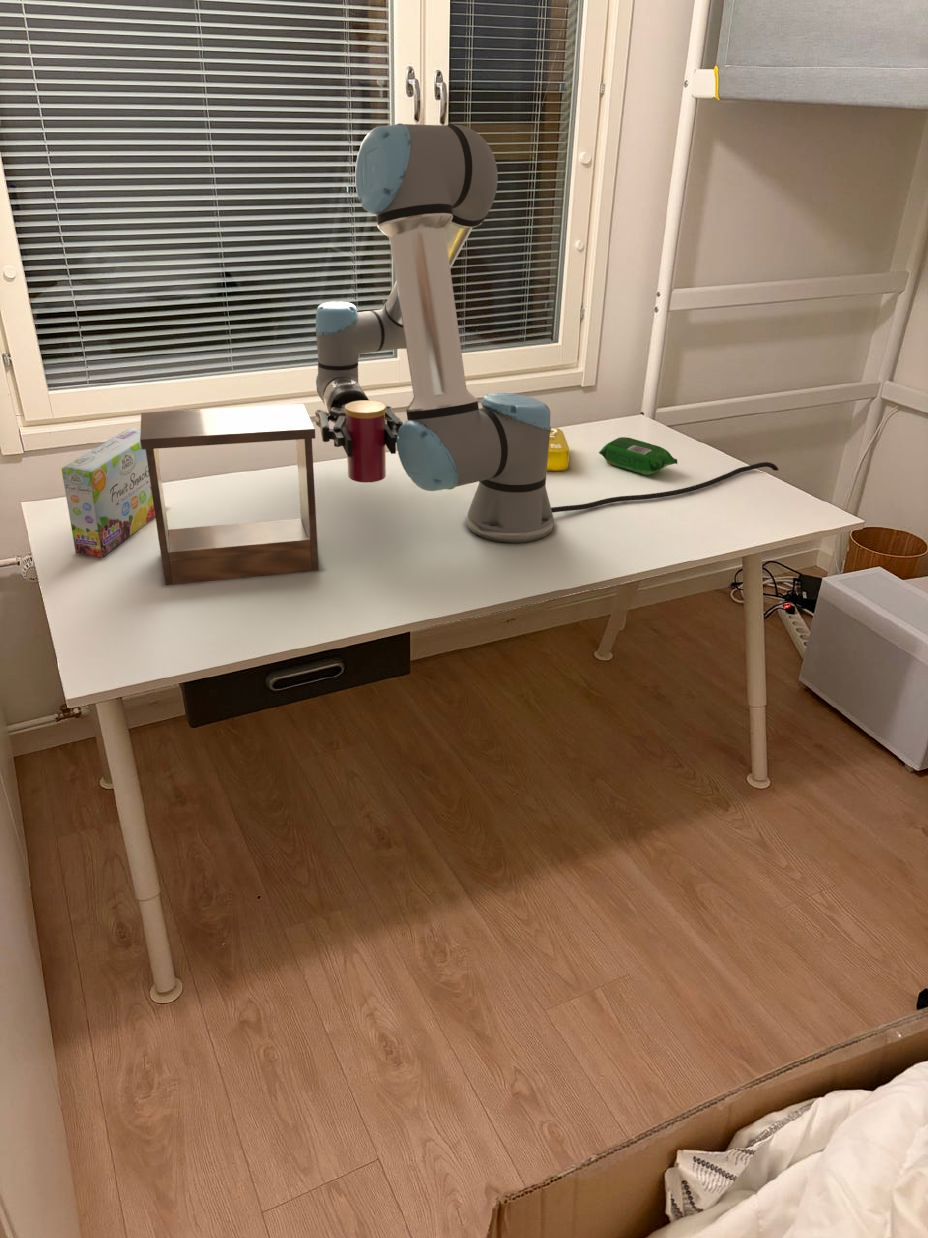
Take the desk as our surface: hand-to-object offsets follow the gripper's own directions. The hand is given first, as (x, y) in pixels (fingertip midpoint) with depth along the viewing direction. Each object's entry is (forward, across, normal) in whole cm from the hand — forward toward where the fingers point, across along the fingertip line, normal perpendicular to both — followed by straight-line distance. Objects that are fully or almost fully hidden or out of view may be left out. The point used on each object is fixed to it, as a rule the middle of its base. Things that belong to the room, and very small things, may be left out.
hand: (371, 447), depth 151 cm
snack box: (-14, +41, -17) cm, 46 cm away
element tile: (-34, -40, -17) cm, 55 cm away
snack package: (-24, -60, -17) cm, 67 cm away
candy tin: (-5, 0, -7) cm, 8 cm away
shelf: (+2, +22, -17) cm, 28 cm away
